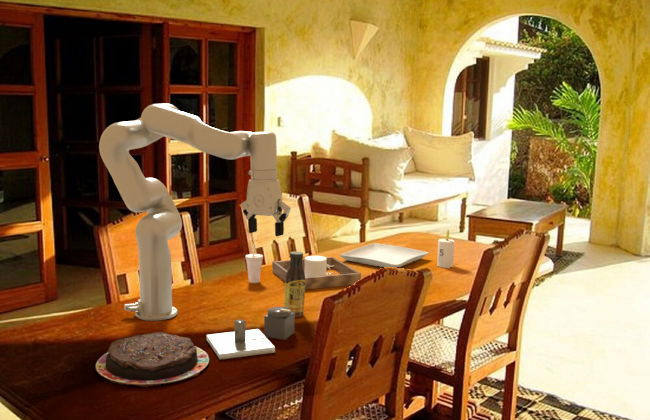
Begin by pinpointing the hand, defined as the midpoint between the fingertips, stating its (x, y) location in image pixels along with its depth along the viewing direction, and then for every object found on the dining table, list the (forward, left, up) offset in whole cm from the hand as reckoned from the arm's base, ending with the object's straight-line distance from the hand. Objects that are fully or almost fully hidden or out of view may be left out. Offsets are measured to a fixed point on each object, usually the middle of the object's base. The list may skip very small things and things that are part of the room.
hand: (266, 233), depth 205 cm
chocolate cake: (-36, -19, -28) cm, 49 cm away
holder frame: (+33, +44, -28) cm, 62 cm away
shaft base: (-12, -14, -28) cm, 33 cm away
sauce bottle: (+11, +6, -28) cm, 31 cm away
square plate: (+70, +60, -28) cm, 97 cm away
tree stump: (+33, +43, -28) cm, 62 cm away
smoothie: (+10, +46, -28) cm, 55 cm away
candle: (+89, +44, -28) cm, 103 cm away
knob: (+1, -9, -28) cm, 29 cm away
